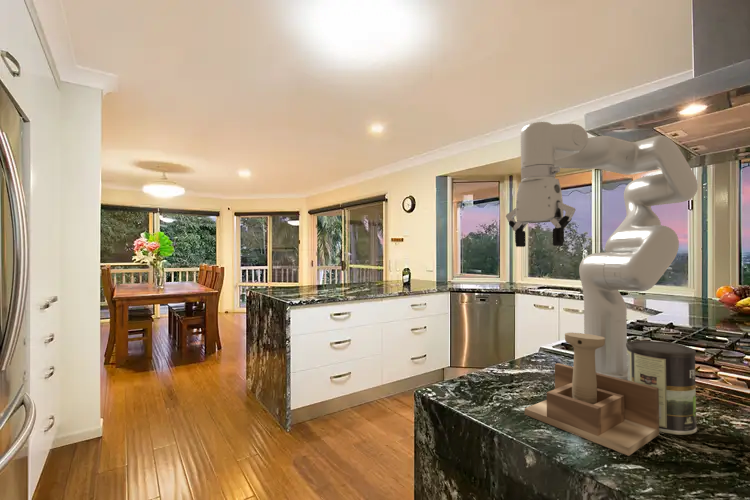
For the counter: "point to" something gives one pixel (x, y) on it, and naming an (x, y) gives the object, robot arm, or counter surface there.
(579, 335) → the handle
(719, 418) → the counter surface
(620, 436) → the wooden box holder
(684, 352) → the coffee can
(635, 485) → the counter surface
